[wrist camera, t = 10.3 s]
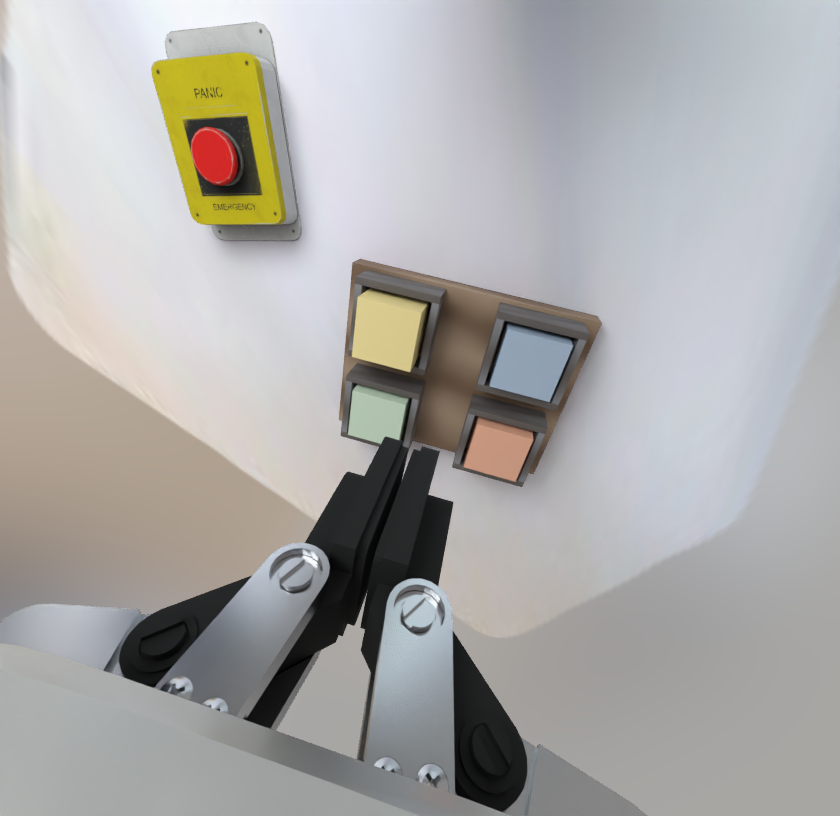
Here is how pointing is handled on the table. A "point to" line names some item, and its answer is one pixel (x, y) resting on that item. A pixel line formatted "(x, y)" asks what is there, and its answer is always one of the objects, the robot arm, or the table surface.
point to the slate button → (530, 361)
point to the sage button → (377, 414)
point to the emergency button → (229, 130)
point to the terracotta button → (497, 448)
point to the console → (462, 362)
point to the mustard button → (389, 328)
